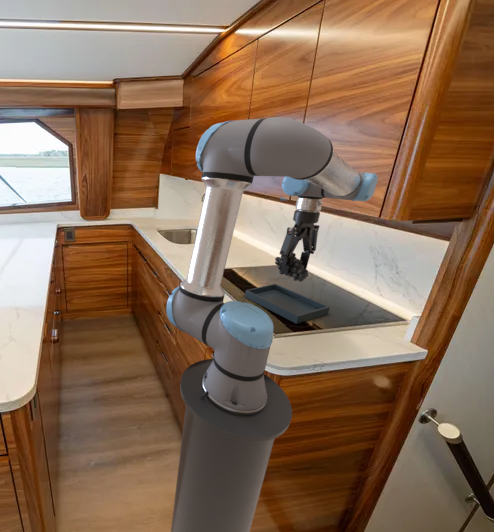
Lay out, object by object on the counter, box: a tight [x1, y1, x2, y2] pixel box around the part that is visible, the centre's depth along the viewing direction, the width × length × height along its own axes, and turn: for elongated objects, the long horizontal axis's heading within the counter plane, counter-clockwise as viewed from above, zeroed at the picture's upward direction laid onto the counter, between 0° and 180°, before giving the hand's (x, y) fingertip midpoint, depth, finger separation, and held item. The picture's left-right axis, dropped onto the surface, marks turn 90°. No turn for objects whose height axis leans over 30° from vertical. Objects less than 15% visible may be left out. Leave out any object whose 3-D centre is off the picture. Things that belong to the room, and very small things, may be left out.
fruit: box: [274, 252, 309, 282], centre depth 109 cm, size 9×8×15 cm
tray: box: [244, 283, 331, 325], centre depth 117 cm, size 17×23×3 cm
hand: (293, 271), depth 110 cm, fingers closed on fruit, 9 cm apart
